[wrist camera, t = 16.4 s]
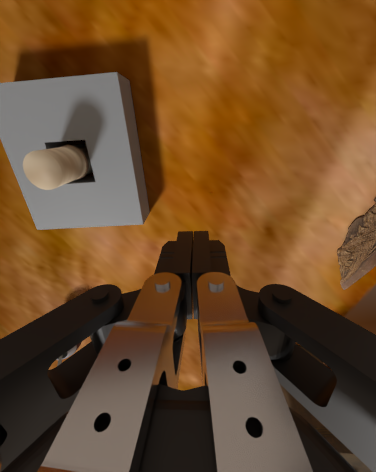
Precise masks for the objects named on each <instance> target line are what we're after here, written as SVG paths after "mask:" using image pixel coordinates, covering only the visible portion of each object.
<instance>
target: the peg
mask: <svg viewBox="0 0 376 472" xmlns="http://www.w3.org/2000/svg"><path fill="white" fill-rule="evenodd" d="M23 169H24V173H25V175H26V177H27V178H28V180H29V181H30V182H31V183H32V184H34V185H35V186H36V187H38V188H40V189H44V190H52V189H55V188H57V187H60V186H62V185H64V184H66V183H69V182H71V181H73V180H77V179H80V178H82V177H84V176H85V175H87V174H90V173H92V172H93V170H92V166H91V162H90V158H89V154H88V150H87V146H85V145H80V144H78V145H65V146H61V147H58V148H51V149H44V150H37V151H32V152H29V153H28V154H27V155H26V156H25V158H24V160H23Z"/></svg>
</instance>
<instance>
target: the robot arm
mask: <svg viewBox="0 0 376 472" xmlns="http://www.w3.org/2000/svg"><path fill="white" fill-rule="evenodd" d="M193 311H194V319H198V337H199V349H200V361H201V373H202V386H201V387H197V388H194V389H190V390H185V391H181V390H178V379H179V373H180V366H181V360H182V354H183V347H184V341H185V329H186V321H187V319H192V312H193ZM89 336H90V338H91V340H92V342H90V343H89V344H87V345H86V346H85V347H83V348H82V349H81V350H79V351H78V352H76V353H75V354H74V355H72V356H71V357H69V358H68V359H67V360H65V361H64V362H63V363H61V364H60V365H58V366H57V367H56V368H54V369H52V370H48V369H49V367H50V366H51V364H52V363H53V362H54V361H55V360H56V359H57V358H59V357H60V356H62V355H63V354H65V353H66V352H67V351H69V350H70V349H72V348H73V347H75V346H76V345H77V344H79V343H80V342H82V341H83V340H84V339H86V338H87V337H89ZM295 342H297V343H298V344H299V345H301V346H302V347H303V348H305V349H306V350H308V351H309V352H310V353H312V354H313V355H314V356H316V357H317V358H318V359H320V360H321V361H322V362H324V363H325V364H326V365H327V366H329V367H330V369H331V370H332V371H331V370H330V369H329V368H327V367H326V366H325V365H323V364H322V363H321V362H319V361H318V360H317V359H315V358H314V357H313V356H311V355H310V354H309V353H307V352H306V351H305V350H303V349H302V348H301V347H299V346H298V345H297V344H295ZM280 385H282V386H283V387H284V388H285V389H286V390H287V391H288V392H289V393H290V394H291V395H292V396H293V397H294V398H295V399H296V400H297V401H298V402H299V403H301V404H302V405H303V406H304V407H305V408H306V409H307V410H308V411H309V412H310V413H311V414H312V415H313V416H314V417H315V418H316V419H317V420H319V421H320V422H321V423H322V424H323V425H324V426H325V427H326V428H327V429H328V430H329V431H330V432H331V433H332V434H333V435H334V436H335V437H336V438H338V439H339V440H340V441H341V442H342V443H343V444H344V445H345V446H346V447H347V448H348V449H349V450H350V451H351V452H352V453H353V454H354V455H356V456H357V457H358V458H359V459H360V460H361V461H362V462H363V463H364V464H365V465H366V466H367V467H368V468H369V469H370V470H371V471H372V472H376V335H375V334H373V333H371V332H369V331H368V330H366V329H364V328H362V327H360V326H359V325H357V324H355V323H353V322H352V321H350V320H348V319H346V318H344V317H343V316H341V315H339V314H337V313H336V312H334V311H332V310H330V309H328V308H327V307H325V306H323V305H321V304H319V303H318V302H316V301H314V300H312V299H311V298H309V297H307V296H305V295H303V294H302V293H300V292H298V291H296V290H294V289H293V288H291V287H288V286H285V285H280V284H271V285H267V286H264V287H263V288H262V289H261V290H260V292H259V293H257V292H253V291H249V290H245V289H243V288H241V287H239V286H237V285H236V284H235V281H234V280H233V278H232V277H231V276H230V271H229V266H228V261H227V256H226V251H225V246H224V245H223V244H222V243H221V242H220V241H219V240H209V234H208V231H194V240H193V231H184V232H178V237H177V241H168V242H167V243H166V244H165V245H164V246H163V247H162V250H161V254H160V257H159V260H158V263H157V267H156V270H155V273H154V275H152V276H150V277H149V278H148V279H147V280H146V281H145V282H144V285H143V287H142V289H139V290H137V291H133V292H128V293H124V294H121V290H120V288H118V287H117V286H115V285H110V284H106V285H100V286H97V287H94V288H92V289H90V290H88V291H86V292H85V293H83V294H81V295H79V296H77V297H76V298H74V299H72V300H70V301H68V302H67V303H65V304H63V305H61V306H59V307H58V308H56V309H54V310H52V311H51V312H49V313H47V314H45V315H43V316H42V317H40V318H38V319H36V320H34V321H33V322H31V323H29V324H27V325H25V326H24V327H22V328H20V329H18V330H16V331H15V332H13V333H11V334H9V335H7V336H6V337H4V338H2V339H0V472H357V471H356V470H355V469H354V468H353V467H352V466H351V465H350V464H349V463H348V462H347V460H346V459H345V458H344V457H343V456H342V455H341V454H340V453H339V452H338V451H337V450H336V449H335V448H334V447H333V446H332V445H331V444H330V443H329V442H328V441H327V440H326V439H325V438H324V437H323V436H322V435H321V434H320V433H319V432H318V431H317V430H316V429H315V428H314V427H313V426H312V425H311V424H310V423H309V422H308V421H307V420H305V419H304V418H303V417H302V416H301V415H300V414H298V413H297V412H295V411H294V410H293V409H291V408H290V407H288V405H287V402H286V399H285V397H284V394H283V391H282V389H281V386H280Z"/></svg>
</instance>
